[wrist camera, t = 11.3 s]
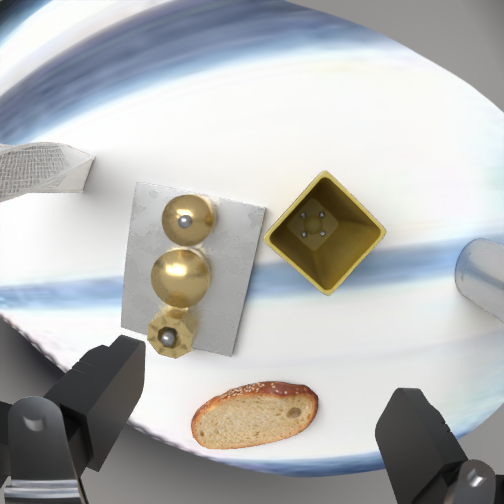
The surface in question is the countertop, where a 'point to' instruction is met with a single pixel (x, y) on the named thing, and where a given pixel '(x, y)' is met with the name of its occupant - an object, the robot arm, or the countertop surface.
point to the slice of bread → (254, 415)
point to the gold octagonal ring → (179, 321)
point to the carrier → (189, 262)
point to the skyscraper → (42, 169)
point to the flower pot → (336, 233)
